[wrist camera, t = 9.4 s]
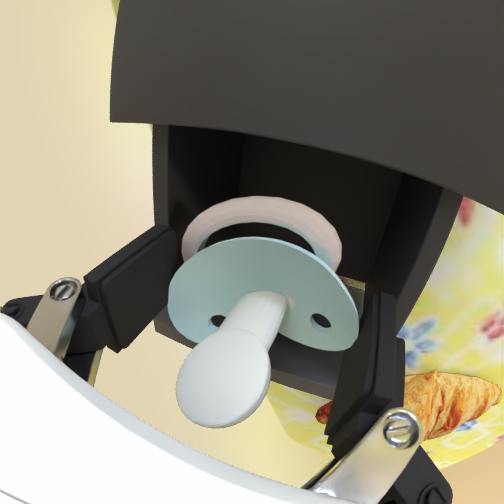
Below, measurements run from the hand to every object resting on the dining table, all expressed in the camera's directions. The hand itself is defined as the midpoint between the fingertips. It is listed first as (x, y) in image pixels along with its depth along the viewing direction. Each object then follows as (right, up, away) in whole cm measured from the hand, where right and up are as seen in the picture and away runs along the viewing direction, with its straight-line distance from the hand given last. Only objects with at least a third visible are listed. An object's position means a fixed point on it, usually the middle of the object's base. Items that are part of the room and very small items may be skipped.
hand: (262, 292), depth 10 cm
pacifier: (0, +1, +1) cm, 2 cm away
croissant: (+17, -14, +14) cm, 26 cm away
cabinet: (+5, +16, +2) cm, 17 cm away
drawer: (+3, +3, +9) cm, 10 cm away
